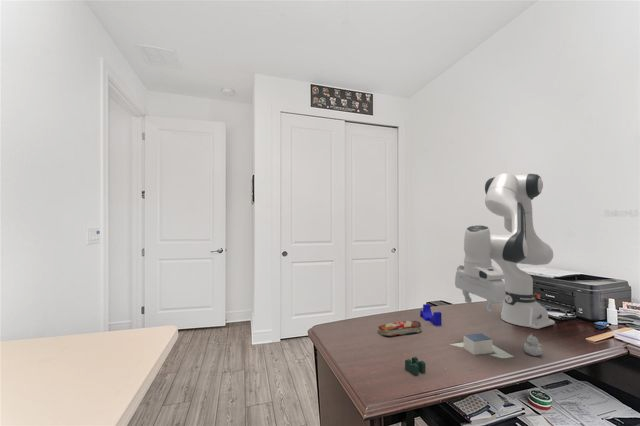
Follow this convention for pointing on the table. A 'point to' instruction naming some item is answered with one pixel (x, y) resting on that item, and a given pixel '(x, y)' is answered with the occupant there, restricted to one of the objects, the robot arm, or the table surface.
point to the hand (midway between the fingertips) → (477, 306)
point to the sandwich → (399, 328)
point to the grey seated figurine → (533, 346)
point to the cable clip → (428, 316)
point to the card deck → (478, 344)
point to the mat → (496, 352)
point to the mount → (415, 366)
